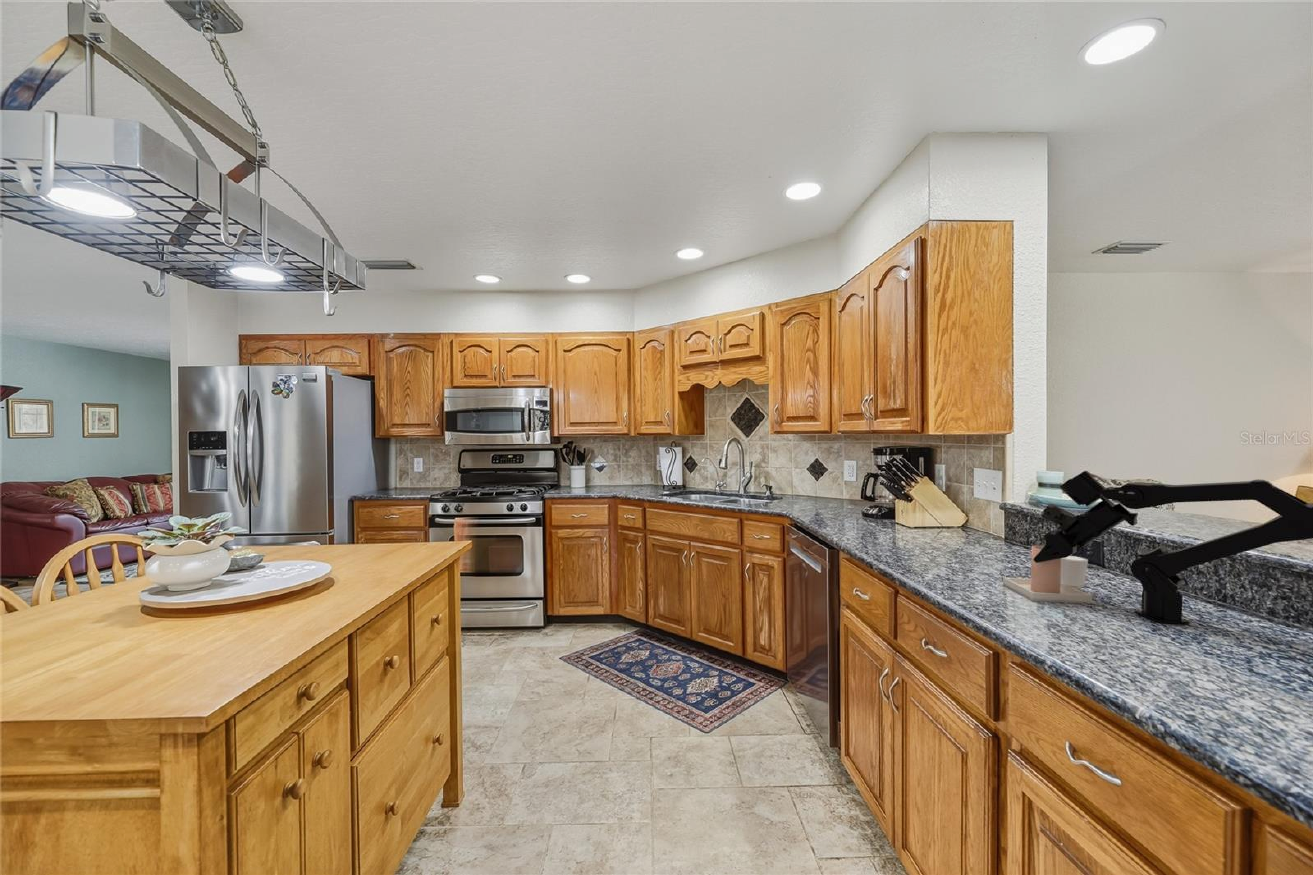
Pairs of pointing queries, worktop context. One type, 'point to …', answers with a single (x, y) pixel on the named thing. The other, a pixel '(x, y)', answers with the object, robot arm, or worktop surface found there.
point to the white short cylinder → (1073, 571)
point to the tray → (1065, 595)
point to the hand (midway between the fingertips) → (1039, 559)
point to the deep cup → (1045, 574)
